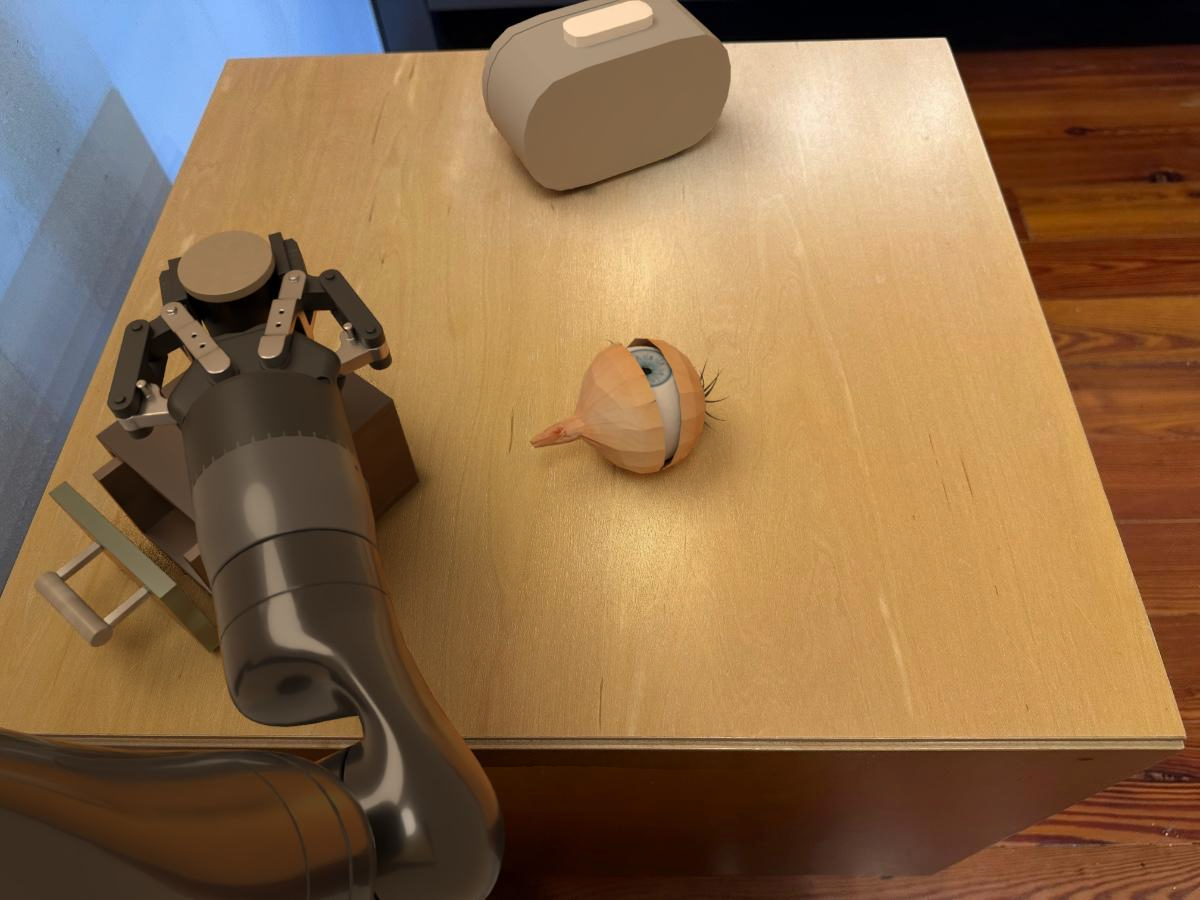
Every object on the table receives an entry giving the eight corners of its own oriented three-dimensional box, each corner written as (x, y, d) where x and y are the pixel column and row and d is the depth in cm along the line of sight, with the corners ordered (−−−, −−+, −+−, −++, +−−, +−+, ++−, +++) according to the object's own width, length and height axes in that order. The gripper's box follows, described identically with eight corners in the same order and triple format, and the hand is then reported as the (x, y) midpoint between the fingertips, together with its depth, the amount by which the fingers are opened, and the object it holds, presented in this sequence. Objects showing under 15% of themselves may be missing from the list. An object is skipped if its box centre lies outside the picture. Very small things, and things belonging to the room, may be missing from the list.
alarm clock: (674, 92, 93) (681, -41, 82) (723, 143, 88) (738, 9, 77) (488, 153, 88) (470, 19, 77) (530, 211, 83) (516, 77, 72)
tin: (244, 405, 53) (192, 307, 46) (218, 351, 55) (165, 251, 49) (324, 371, 54) (284, 271, 48) (296, 320, 57) (254, 218, 50)
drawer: (154, 704, 56) (94, 654, 50) (50, 599, 60) (-17, 540, 54) (357, 520, 64) (327, 455, 57) (252, 438, 68) (214, 369, 61)
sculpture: (773, 378, 61) (567, 411, 55) (739, 480, 67) (549, 520, 61) (706, 303, 67) (513, 325, 61) (680, 403, 73) (502, 432, 67)
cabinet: (272, 617, 60) (221, 545, 53) (157, 515, 65) (94, 435, 57) (419, 481, 66) (393, 398, 59) (305, 397, 71) (266, 310, 63)
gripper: (417, 398, 41) (339, 170, 50) (79, 499, 38) (63, 238, 47) (444, 490, 47) (370, 272, 56) (154, 583, 44) (127, 337, 53)
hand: (230, 258), depth 51 cm, fingers closed on tin, 4 cm apart
